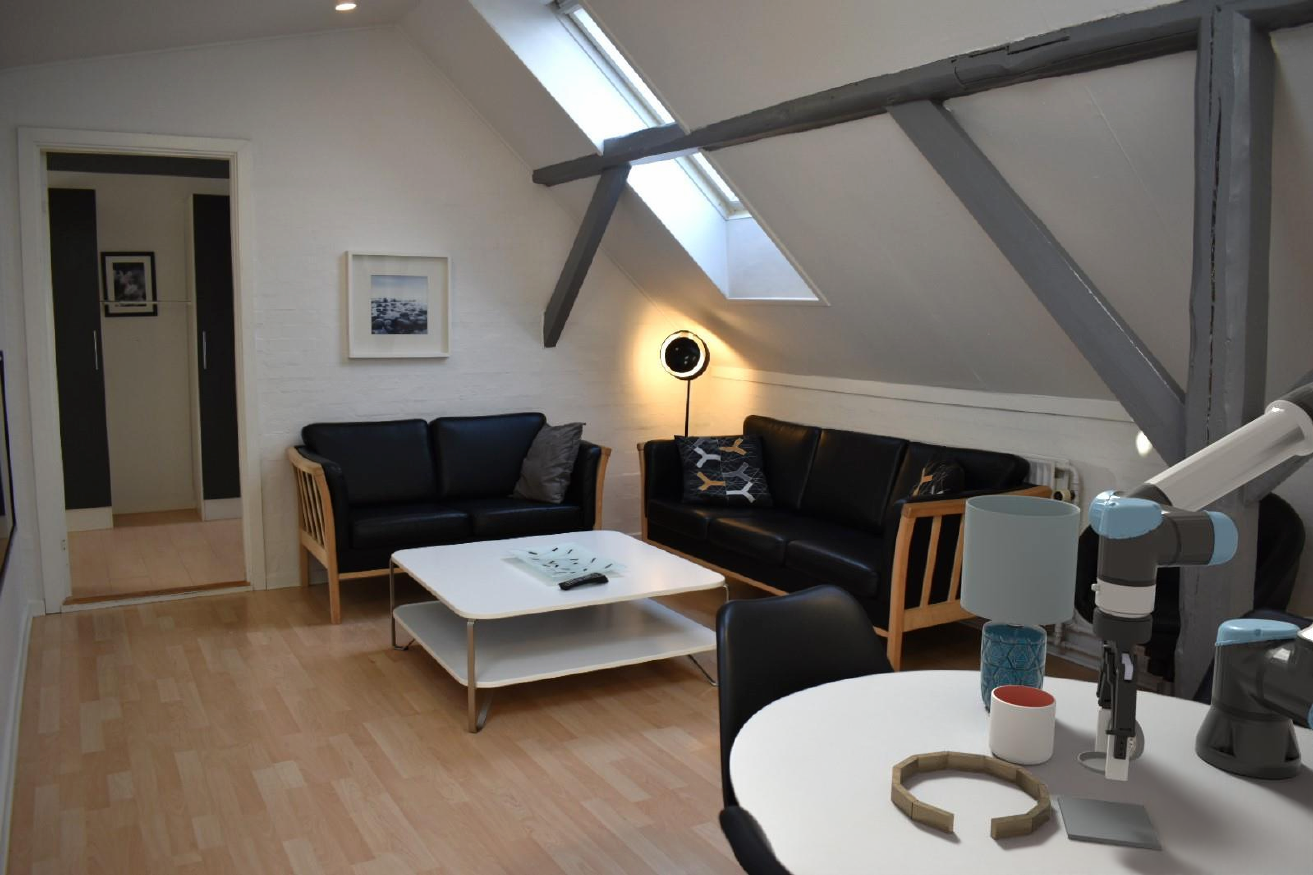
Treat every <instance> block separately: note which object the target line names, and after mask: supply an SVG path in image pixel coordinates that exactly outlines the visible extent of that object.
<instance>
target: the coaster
mask: <svg viewBox="0 0 1313 875" xmlns="http://www.w3.org/2000/svg"><path fill="white" fill-rule="evenodd" d="M1056 799H1057V802H1058V806H1059V810H1060V814H1061V817H1062V821H1063V824H1064V828H1065V832H1066V835H1067V839H1071V840H1072V839H1073V840H1079V841H1080V840H1082V841H1089V842H1097V843H1106V844H1112V845H1119V846H1120V845H1122V846H1128V847H1136V848H1137V847H1138V848H1144V849H1145V848H1146V849H1152V850H1160V851H1161V850H1162V849H1163V845H1162V843H1161V840H1160V838H1159V836H1158V834H1157V832H1156V829H1155V827H1154V825H1153V822H1152V820H1151V818H1150V816H1149V813H1148V811H1147V809H1146V807H1145V804H1137V803H1129V802H1120V801H1113V800H1103V799H1097V798H1096V799H1095V798H1088V797H1087V798H1086V797H1078V796H1070V795H1069V796H1068V795H1063V794H1062V795H1061V794H1057V798H1056Z"/></svg>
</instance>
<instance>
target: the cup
mask: <svg viewBox="0 0 1313 875" xmlns="http://www.w3.org/2000/svg"><path fill="white" fill-rule="evenodd" d="M1056 708H1057V699H1056V698H1055V697H1054V695H1053V694H1051V693H1049V692H1047V691H1045V690H1043V689H1042V690H1040V689H1037V688H1033V687H1027V686H1019V685H1006V686H1000V687H997V688H995V689H994V690H993V691H992V693H991V709H989V710H990V711H989V725H988V726H989V729H988V731H989V732H988V747H989V749H990V751H991V752H992V753H993V754H995V756H997V757H998V758H1000V759H1001V760H1003V761H1005V762H1008V763H1012V764H1016V765H1018V764H1019V765H1025V766H1026V765H1040V764H1043V763H1045V762H1048V761H1049V760H1050V758H1051V757H1052V756H1053V752H1054V739H1055V728H1056V727H1055V726H1056V725H1055V723H1056V710H1057V709H1056Z"/></svg>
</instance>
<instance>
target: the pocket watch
mask: <svg viewBox="0 0 1313 875" xmlns="http://www.w3.org/2000/svg"><path fill="white" fill-rule="evenodd" d="M1107 730H1111V718H1110V720H1109V722H1108V727H1107ZM1143 731H1144V730H1143V729H1142V727H1141V725H1140V723H1139V721H1138V720H1137V719H1136V722H1135V732H1136V735H1135V737H1134V738H1132V737H1131V740H1130V752H1129V762H1133V761H1136V760H1138V759H1139V758H1140V757H1141V756H1142V755H1143V753H1144V750H1145V743H1146V742H1145V736H1144V732H1143ZM1106 759H1107V753H1105V752H1099V751H1095V750H1090V751H1083V752H1081V753H1079V754H1078V756H1077V763H1078V764H1079V765H1080V766H1081V767H1082V768H1084V769H1085V770H1087V771H1090V772H1092V773H1094V774H1095V773H1096V774H1098V775H1102V776H1105V772H1106Z"/></svg>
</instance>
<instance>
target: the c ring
mask: <svg viewBox="0 0 1313 875" xmlns="http://www.w3.org/2000/svg"><path fill="white" fill-rule="evenodd" d="M891 770H892V773H891V774H892V775H891V790H890V792H891V793H890V794H891V795H890V800H891V802H893V804H895V805H896V806H897V807H898V808H899V809H900V810H901V811H902V812H903V813H905V815H906V816H908V817H909V818H910V819H911V820H913V821H916V822H917V823H920V824H923V825H925V826H928V827H930V828H933V829H936V830H938V831H941V832H943V833H946V834H951V833H952V832H954V823H955V822H954V821H955V813H952V812H950V811H948V810H945V809H943V808H940V807H937V806H934V805H931V804H929V803H926V802H923V801H920V800H918V799H917V797H915V796H914V795H913V794H912V793H911V792H910V791H909V790H907V789H906V788H905V787H904V786H903V785H902V783H904V782H905V781H907V780H909V779H910V778H912V777H914V776H915V775H917V774H920V773H928V772H929V773H930V772H935V771H944V770H953V771H962V772H967V773H968V772H969V773H979V774H980V773H981V774H984V775H987V776H990V777H993V778H996V779H999V780H1002V781H1004V782H1008V783H1011V784H1014V785H1016V786H1017V787H1018V788H1020V789H1021V790H1023V791H1024V792H1025V793H1027V794H1028V795H1030V796H1031V797H1032V798H1034V799H1035V801H1037V804H1036V805H1035V806H1034V807H1032V808H1031V809H1030V810H1028V811H1027V812H1026V813H1020V814H1014V815H1006V816H1000V817H994V818H993V817H992V818H990V831H989V832H990V833H989V835H990V837H991V838H992V839H993V840H1003V839H1009V838H1017V837H1023V836H1028V835H1029V836H1030V835H1033V834H1034V833H1036V831H1038V830H1039V829H1040V828H1042V827H1043V826H1044V825H1045V824H1046V823H1047V822H1049V821H1050V820H1051V812H1052V800H1051V796H1050V793H1049V790H1048V785H1047V784H1046V783H1045V782H1044V781H1042V779H1039V778H1038V777H1036V776H1035V775H1034V774H1032V773H1031V772H1030V771H1028V770H1027V769H1025V768H1024V767H1022V766H1020V765H1018V764H1015V763H1012V762H1009V761H1006V760H1003V759H998V758H995V757H992V756H989V755H985V754H978V753H969V752H960V751H952V750H951V751H950V750H942V751H934V752H933V751H932V752H928V753H927V752H926V753H919V754H912V755H909V756H908V757H907V758H905V759H903V760H902V761H900V762H898V763H897V764H895V765H893V766H892V769H891Z"/></svg>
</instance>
